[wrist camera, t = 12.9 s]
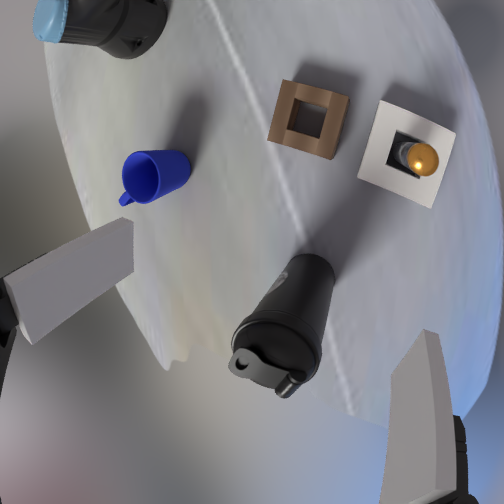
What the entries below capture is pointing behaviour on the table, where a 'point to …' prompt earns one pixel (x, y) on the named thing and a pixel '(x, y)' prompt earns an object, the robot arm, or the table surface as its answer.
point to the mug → (153, 175)
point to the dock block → (380, 145)
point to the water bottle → (286, 328)
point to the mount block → (288, 112)
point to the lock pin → (417, 157)
